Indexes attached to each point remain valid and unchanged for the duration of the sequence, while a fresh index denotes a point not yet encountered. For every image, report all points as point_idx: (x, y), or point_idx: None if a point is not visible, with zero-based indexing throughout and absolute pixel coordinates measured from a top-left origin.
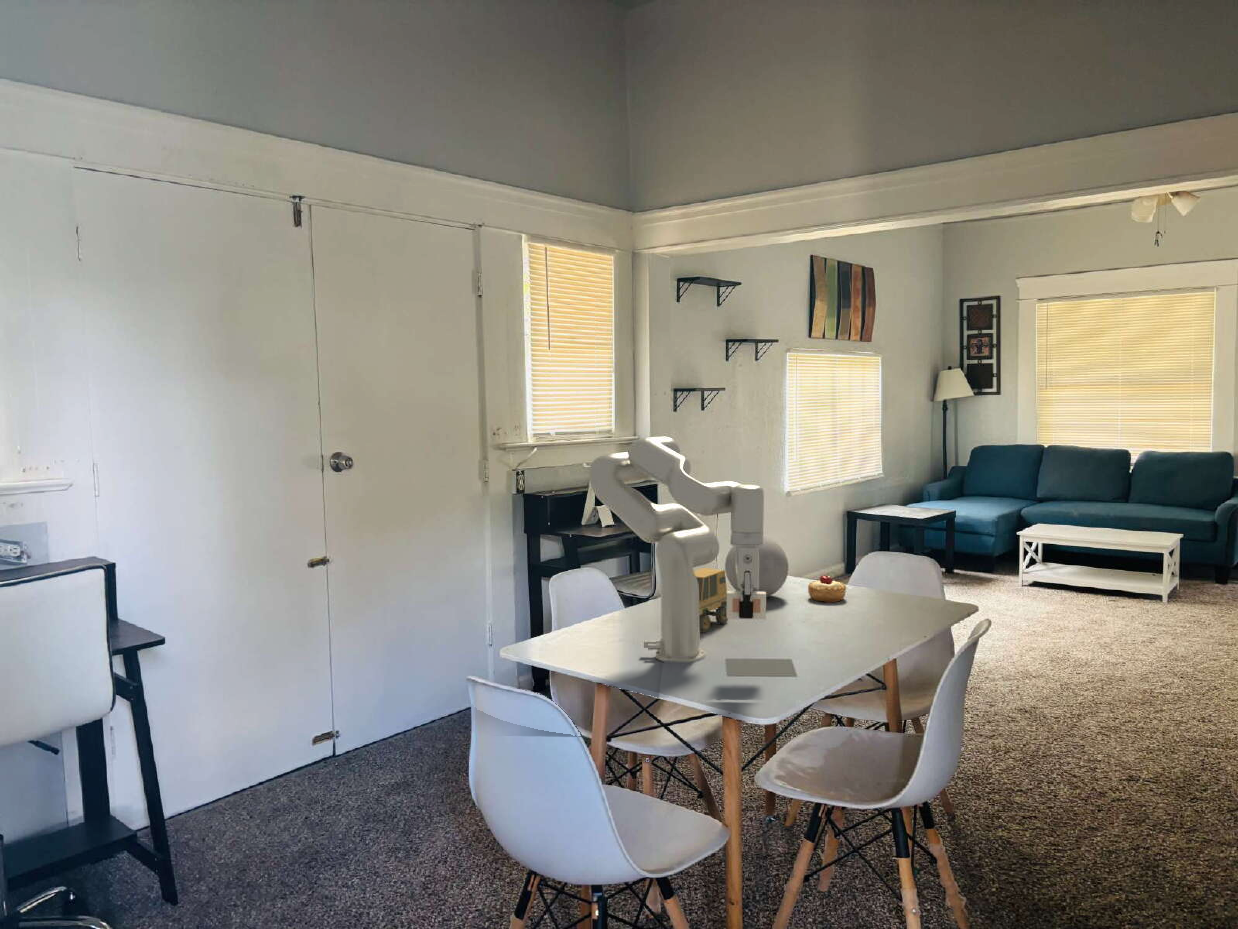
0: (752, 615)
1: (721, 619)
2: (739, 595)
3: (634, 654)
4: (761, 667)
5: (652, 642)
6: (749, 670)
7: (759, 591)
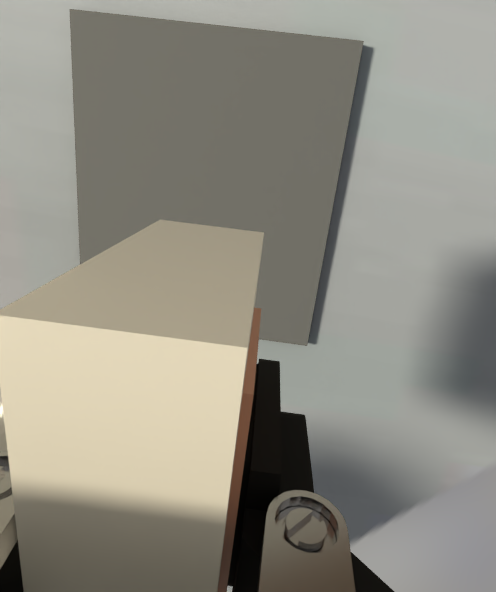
0: (279, 375)
1: None
2: None
3: None
4: (206, 192)
5: None
6: None
7: (8, 433)
